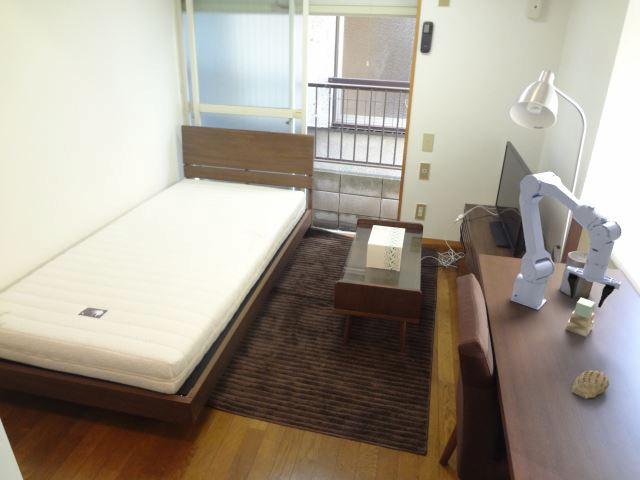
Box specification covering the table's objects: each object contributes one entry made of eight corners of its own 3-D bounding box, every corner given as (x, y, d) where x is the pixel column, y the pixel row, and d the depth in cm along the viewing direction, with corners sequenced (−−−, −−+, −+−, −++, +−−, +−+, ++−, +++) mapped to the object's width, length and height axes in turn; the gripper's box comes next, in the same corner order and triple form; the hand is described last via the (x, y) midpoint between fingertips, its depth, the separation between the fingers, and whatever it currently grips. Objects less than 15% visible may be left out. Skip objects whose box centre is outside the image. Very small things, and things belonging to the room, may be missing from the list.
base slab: (565, 330, 150) (567, 321, 149) (570, 321, 154) (573, 313, 153) (586, 337, 147) (588, 329, 146) (591, 329, 151) (593, 320, 150)
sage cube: (573, 313, 148) (576, 302, 146) (577, 308, 150) (580, 297, 149) (587, 318, 145) (591, 307, 144) (591, 313, 148) (595, 302, 146)
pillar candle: (591, 289, 173) (601, 251, 167) (588, 301, 166) (599, 262, 160) (561, 282, 178) (570, 245, 172) (557, 293, 170) (566, 255, 164)
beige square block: (569, 321, 149) (571, 312, 148) (575, 315, 153) (577, 306, 151) (586, 327, 146) (589, 319, 145) (592, 321, 149) (594, 313, 148)
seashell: (601, 413, 122) (608, 379, 127) (606, 402, 117) (613, 368, 123) (568, 401, 125) (576, 368, 131) (571, 390, 121) (579, 357, 126)
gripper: (566, 258, 143) (556, 298, 148) (621, 274, 134) (609, 315, 139) (573, 250, 147) (564, 289, 153) (627, 265, 139) (615, 306, 144)
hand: (585, 301), depth 147 cm, fingers open, 7 cm apart
